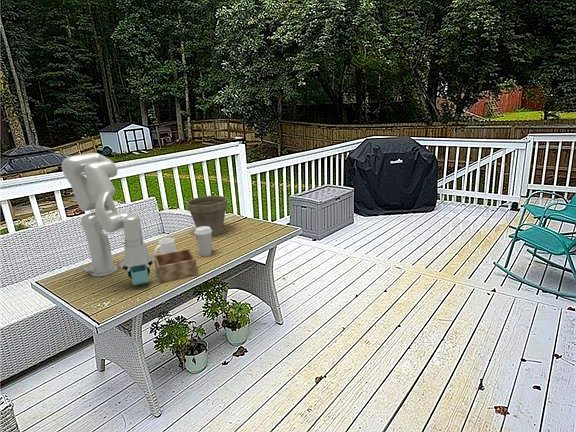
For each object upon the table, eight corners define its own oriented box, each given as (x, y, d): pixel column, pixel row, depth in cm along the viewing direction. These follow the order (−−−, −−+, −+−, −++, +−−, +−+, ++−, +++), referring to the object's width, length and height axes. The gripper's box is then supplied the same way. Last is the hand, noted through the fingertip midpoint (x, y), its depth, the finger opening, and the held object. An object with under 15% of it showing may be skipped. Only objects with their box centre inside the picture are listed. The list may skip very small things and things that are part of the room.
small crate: (133, 285, 182) (131, 273, 180) (131, 275, 191) (129, 264, 189) (149, 282, 184) (147, 270, 182) (146, 272, 194) (144, 261, 192)
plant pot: (189, 229, 262) (185, 197, 255) (226, 224, 269) (223, 193, 262) (192, 241, 239) (188, 207, 232) (232, 236, 246) (229, 202, 239)
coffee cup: (197, 258, 215) (194, 232, 210) (196, 251, 224) (193, 226, 219) (215, 255, 217) (212, 230, 212) (213, 249, 226) (211, 224, 221)
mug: (159, 264, 209) (156, 246, 206) (152, 260, 214) (149, 242, 211) (179, 257, 217) (177, 240, 214) (172, 253, 222) (169, 236, 219)
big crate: (160, 282, 188) (157, 267, 186) (155, 270, 202) (153, 255, 200) (197, 274, 196) (195, 259, 193) (190, 262, 209) (189, 248, 207)
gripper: (114, 247, 175) (120, 283, 180) (155, 241, 182) (159, 275, 187) (113, 242, 181) (119, 276, 187) (152, 235, 188) (157, 269, 194)
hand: (139, 276), depth 187 cm, fingers closed on small crate, 7 cm apart
